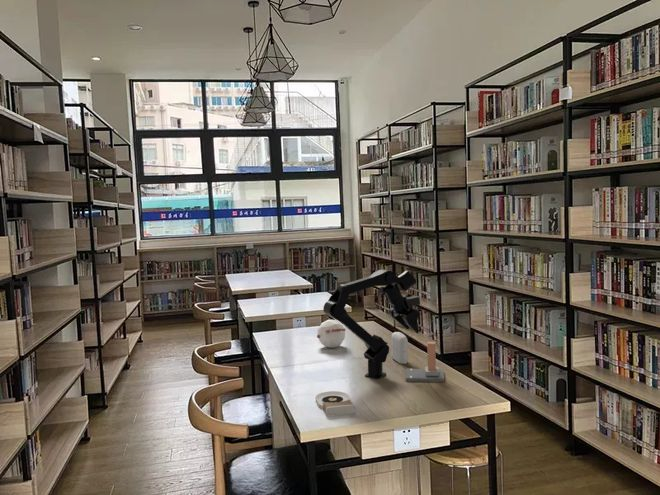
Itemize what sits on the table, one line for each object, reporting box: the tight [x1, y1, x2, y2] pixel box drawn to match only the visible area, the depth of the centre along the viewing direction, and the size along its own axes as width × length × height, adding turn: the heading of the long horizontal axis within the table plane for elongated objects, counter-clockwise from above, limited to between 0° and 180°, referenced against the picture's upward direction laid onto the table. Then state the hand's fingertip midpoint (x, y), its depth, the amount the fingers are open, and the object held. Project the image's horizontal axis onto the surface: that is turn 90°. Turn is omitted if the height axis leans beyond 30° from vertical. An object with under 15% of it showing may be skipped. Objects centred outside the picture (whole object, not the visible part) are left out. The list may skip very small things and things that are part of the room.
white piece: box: [316, 319, 347, 349], centre depth 258 cm, size 14×25×14 cm, turn 14°
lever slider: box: [424, 341, 439, 376], centre depth 207 cm, size 5×7×12 cm
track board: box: [405, 368, 445, 383], centre depth 208 cm, size 14×12×1 cm
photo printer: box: [390, 331, 409, 365], centre depth 230 cm, size 10×4×12 cm, turn 17°
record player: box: [315, 390, 355, 417], centre depth 182 cm, size 12×3×20 cm
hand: (412, 330), depth 215 cm, fingers open, 9 cm apart
